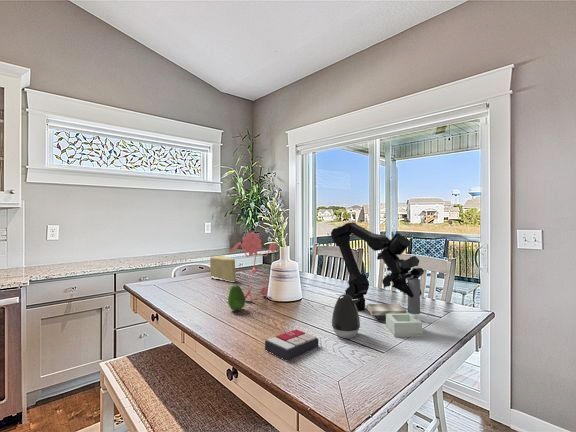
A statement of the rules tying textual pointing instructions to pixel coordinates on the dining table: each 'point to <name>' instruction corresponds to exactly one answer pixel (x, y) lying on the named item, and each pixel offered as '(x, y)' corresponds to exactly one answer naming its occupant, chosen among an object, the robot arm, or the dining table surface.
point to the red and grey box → (291, 344)
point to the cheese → (222, 268)
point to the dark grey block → (415, 300)
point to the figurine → (251, 246)
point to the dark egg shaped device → (346, 317)
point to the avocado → (236, 298)
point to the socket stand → (403, 325)
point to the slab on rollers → (384, 310)
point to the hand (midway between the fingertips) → (416, 295)
